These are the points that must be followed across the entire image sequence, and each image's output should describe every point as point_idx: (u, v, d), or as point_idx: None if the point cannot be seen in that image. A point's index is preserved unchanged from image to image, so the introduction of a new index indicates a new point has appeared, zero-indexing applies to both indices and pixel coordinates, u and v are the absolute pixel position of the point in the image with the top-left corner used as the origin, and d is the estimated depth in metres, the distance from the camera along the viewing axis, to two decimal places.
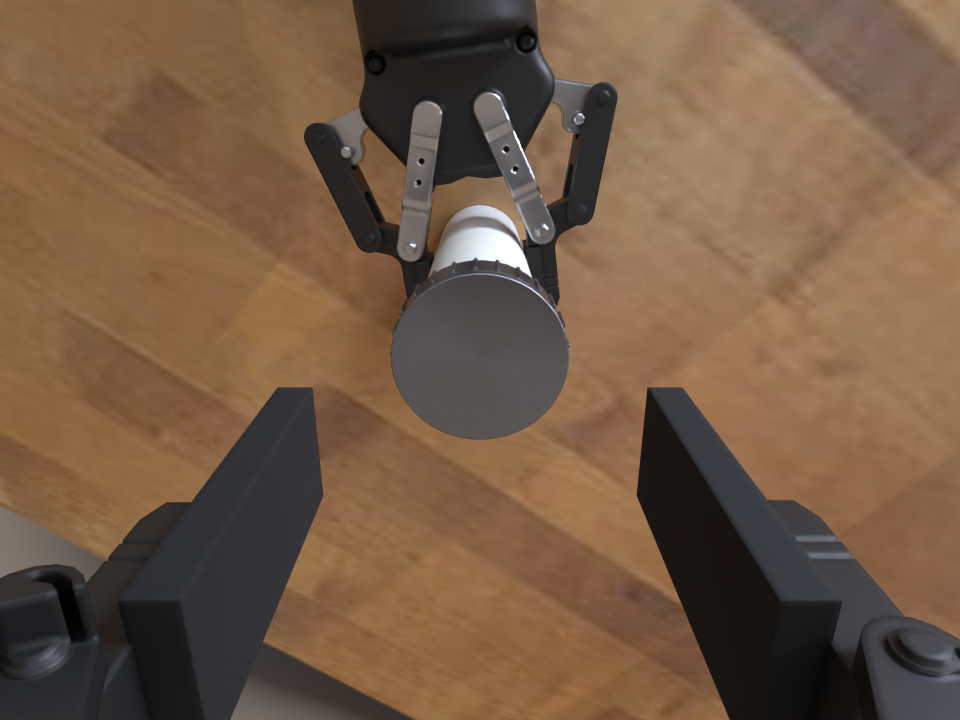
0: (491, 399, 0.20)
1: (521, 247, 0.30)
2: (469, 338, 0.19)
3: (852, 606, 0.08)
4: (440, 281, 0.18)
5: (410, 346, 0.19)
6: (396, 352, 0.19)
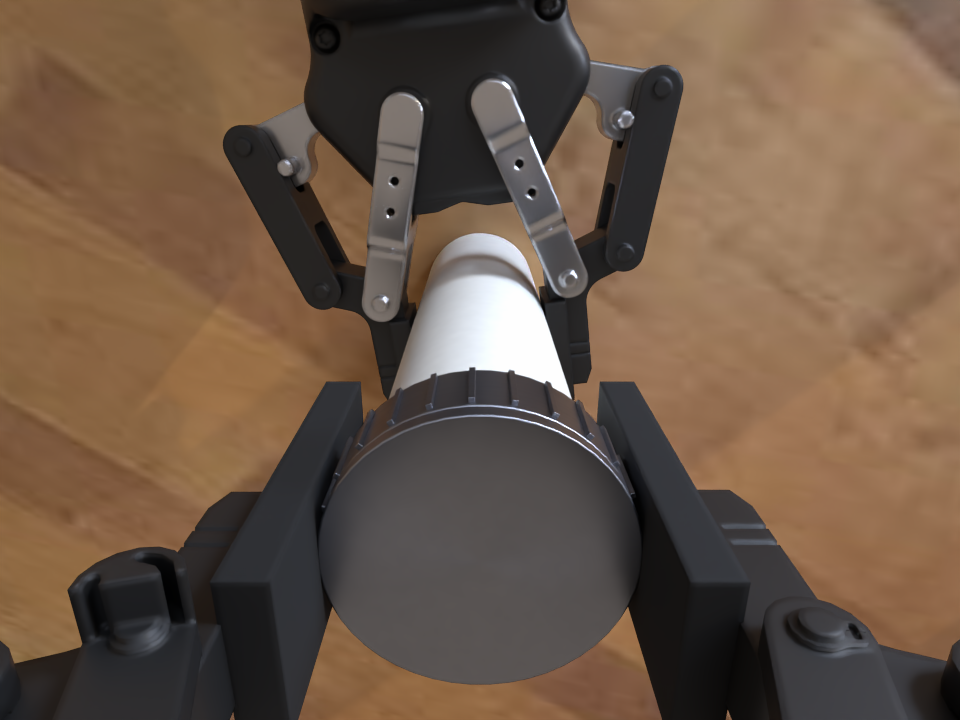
0: (501, 623, 0.11)
1: (538, 299, 0.22)
2: (460, 526, 0.10)
3: (769, 589, 0.09)
4: (405, 427, 0.10)
5: (352, 539, 0.10)
6: (326, 549, 0.10)
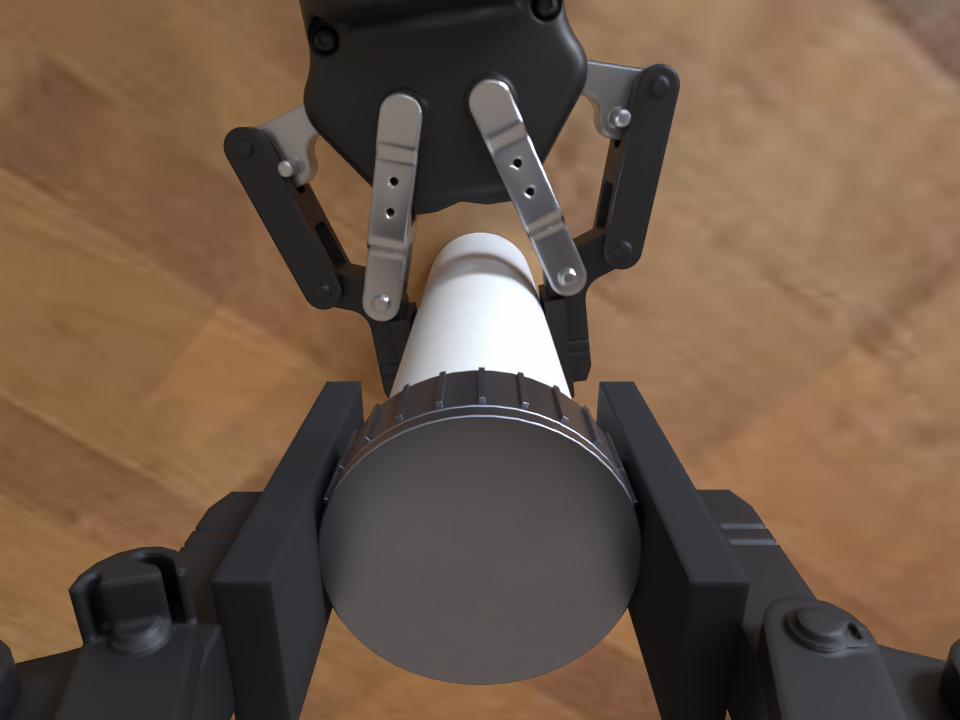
0: (546, 521, 0.10)
1: (537, 297, 0.22)
2: (447, 589, 0.11)
3: (769, 589, 0.09)
4: (377, 650, 0.11)
5: (499, 661, 0.11)
6: (518, 675, 0.11)
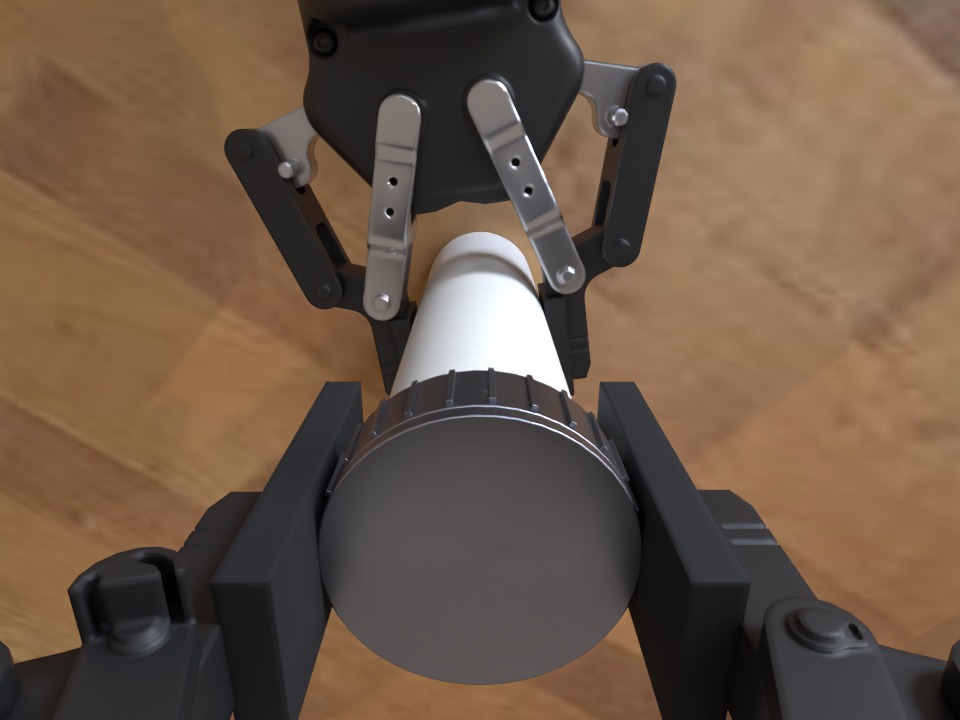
0: (409, 527, 0.10)
1: (537, 296, 0.22)
2: (523, 577, 0.11)
3: (769, 588, 0.09)
4: None
5: (595, 506, 0.10)
6: (608, 482, 0.10)
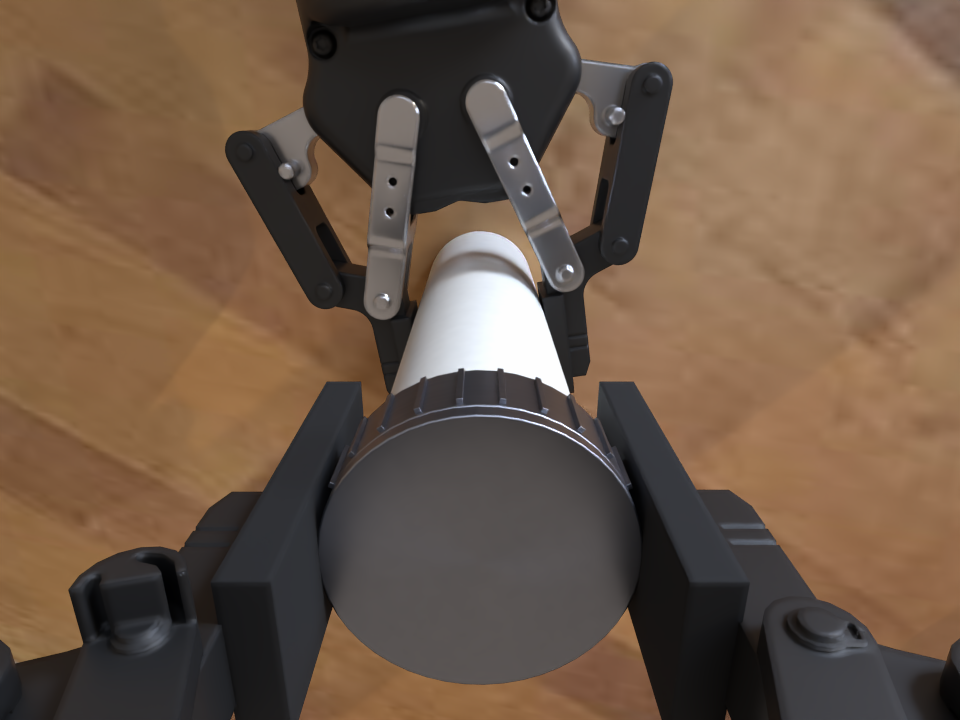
0: (467, 626, 0.11)
1: (536, 294, 0.22)
2: (481, 522, 0.10)
3: (768, 589, 0.09)
4: (478, 412, 0.10)
5: (372, 495, 0.10)
6: (343, 495, 0.10)
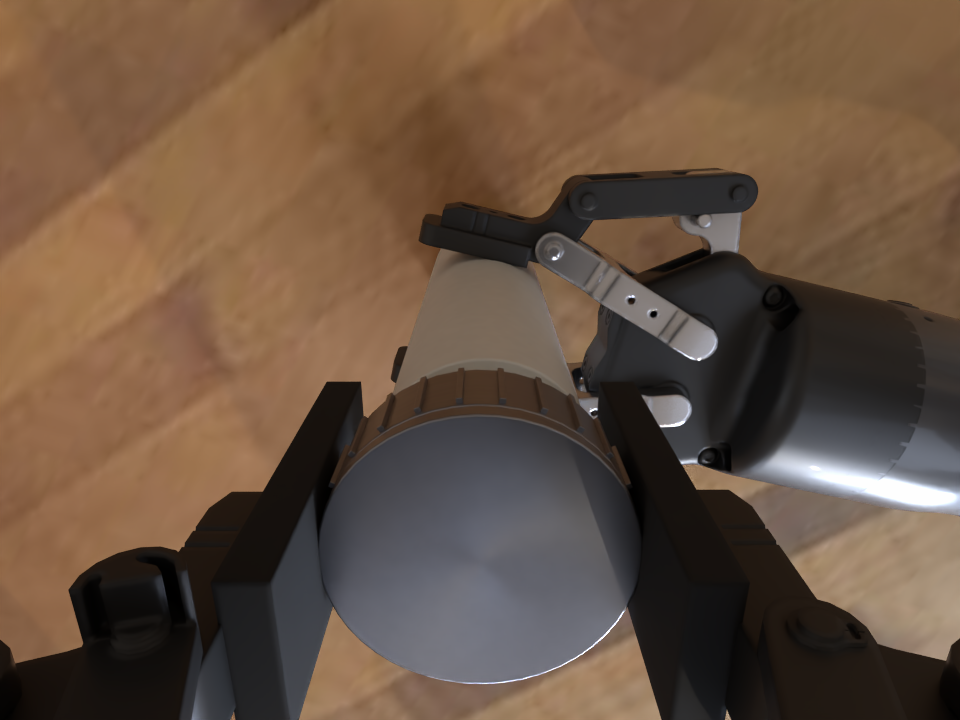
0: (468, 625, 0.11)
1: None
2: (481, 522, 0.10)
3: (768, 589, 0.09)
4: (478, 412, 0.10)
5: (372, 495, 0.10)
6: (343, 495, 0.10)
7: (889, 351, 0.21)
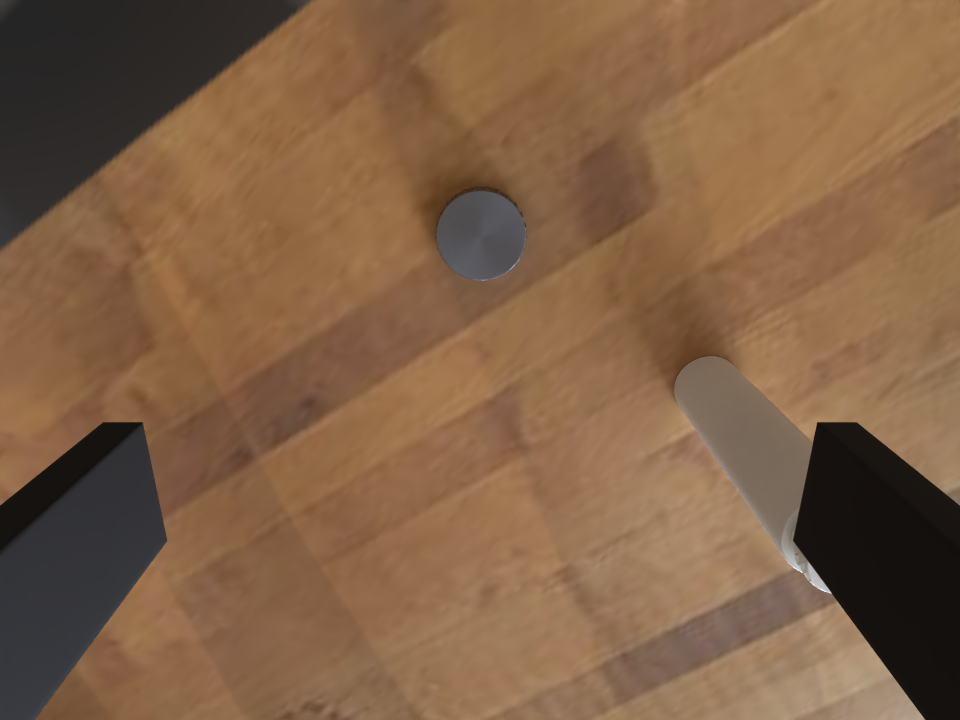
0: (477, 258, 0.38)
1: None
2: (481, 223, 0.38)
3: None
4: (480, 190, 0.37)
5: (452, 215, 0.38)
6: (444, 215, 0.38)
7: None
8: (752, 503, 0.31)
